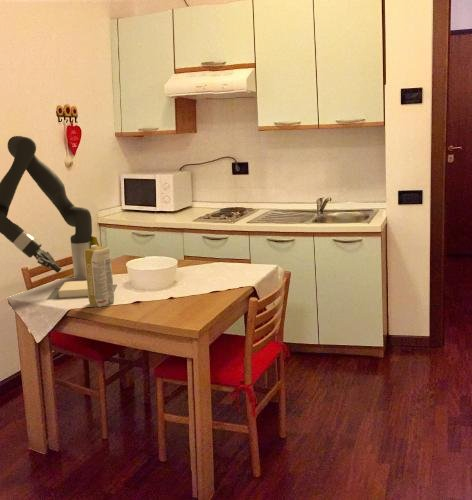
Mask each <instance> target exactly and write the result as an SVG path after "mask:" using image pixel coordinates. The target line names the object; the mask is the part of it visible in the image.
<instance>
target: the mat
mask: <svg viewBox="0 0 472 500" xmlns="http://www.w3.org/2000/svg"><path fill="white" fill-rule="evenodd" d="M117 287H118V284H113V289H114V292H115V290H116V289H117ZM60 288H61V287H55V288H54V289H53V291H52V292H50V294H49V296H48V297H47V298H46V299H45V300H46V301H48V300H49V301H50V300H51V301H52V300H67V299H69V300H70V299H81V298H82V299H85V298H88V296H79V297H61V298H59V289H60Z"/></svg>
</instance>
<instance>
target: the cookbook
mask: <svg viewBox="0 0 472 500" xmlns="http://www.w3.org/2000/svg"><path fill="white" fill-rule="evenodd" d="M59 288H60V289H59V298H61V297H79V296H88V288H87V280H75V281H74V280H73V281H64V283H62V286H61V287H59Z"/></svg>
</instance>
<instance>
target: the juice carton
mask: <svg viewBox="0 0 472 500" xmlns="http://www.w3.org/2000/svg"><path fill="white" fill-rule="evenodd" d="M84 254H85V267H86V278H87V279H86V281H87V288H88V297H87V298H88V302H89V305H90V306H91V305H92V306H96V307H97V308H101V307H104V306H107V305H110V304H114V303H115V291H114V289H113V285H114V279H113V278H114V277H113V269H112V258H111V257H112V256H111V250H110V247H106V246H100V245H99V247H98V246H97V245H92V246H91V249H86V250H84Z"/></svg>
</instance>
